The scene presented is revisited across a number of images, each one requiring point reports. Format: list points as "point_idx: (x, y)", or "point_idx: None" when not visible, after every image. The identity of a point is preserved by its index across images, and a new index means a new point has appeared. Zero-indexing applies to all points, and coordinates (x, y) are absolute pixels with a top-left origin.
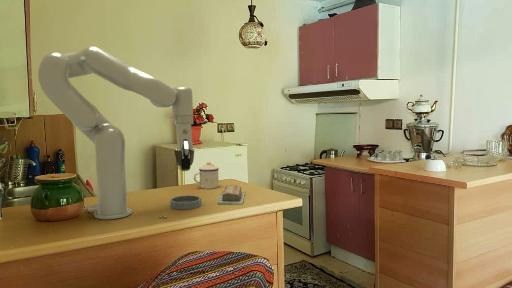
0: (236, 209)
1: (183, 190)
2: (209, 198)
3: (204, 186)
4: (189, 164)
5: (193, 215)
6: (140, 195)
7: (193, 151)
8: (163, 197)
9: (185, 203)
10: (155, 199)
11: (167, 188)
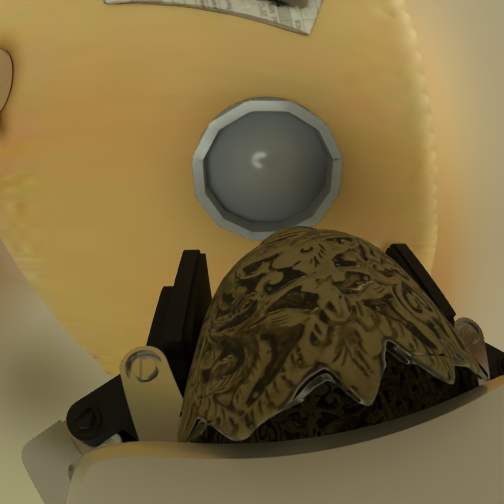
0: (399, 7)
1: (20, 176)
2: (165, 51)
3: (2, 98)
4: (419, 273)
5: (411, 165)
6: (88, 304)
7: (470, 353)
8: (111, 244)
9: (338, 184)
10: (137, 269)
11: (6, 231)
